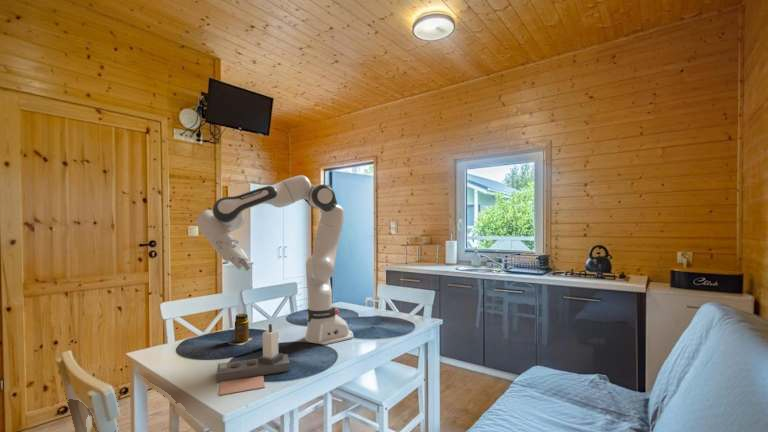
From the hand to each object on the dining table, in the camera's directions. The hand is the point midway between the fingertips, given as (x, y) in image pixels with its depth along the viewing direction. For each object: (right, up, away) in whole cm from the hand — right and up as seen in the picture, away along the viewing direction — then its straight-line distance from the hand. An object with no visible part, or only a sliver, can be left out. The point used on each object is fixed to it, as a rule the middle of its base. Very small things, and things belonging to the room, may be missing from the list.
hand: (244, 268), depth 150 cm
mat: (+9, -36, -25) cm, 45 cm away
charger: (+14, -33, -12) cm, 38 cm away
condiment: (-9, -36, +18) cm, 41 cm away
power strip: (+9, -36, -14) cm, 40 cm away
